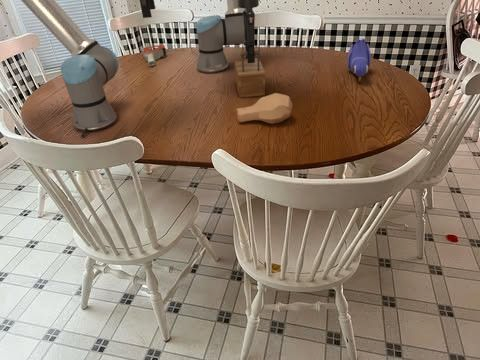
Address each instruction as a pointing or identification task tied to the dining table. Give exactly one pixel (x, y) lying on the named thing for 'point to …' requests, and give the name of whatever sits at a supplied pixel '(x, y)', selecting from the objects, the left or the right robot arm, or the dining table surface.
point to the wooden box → (250, 85)
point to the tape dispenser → (153, 53)
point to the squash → (267, 109)
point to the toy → (359, 58)
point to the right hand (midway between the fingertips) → (250, 60)
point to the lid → (249, 65)
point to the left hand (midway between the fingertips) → (149, 13)
